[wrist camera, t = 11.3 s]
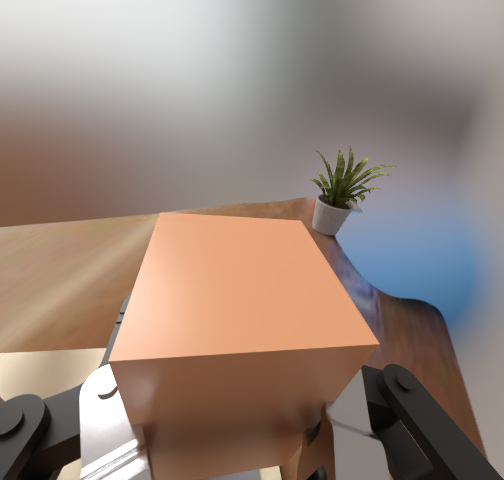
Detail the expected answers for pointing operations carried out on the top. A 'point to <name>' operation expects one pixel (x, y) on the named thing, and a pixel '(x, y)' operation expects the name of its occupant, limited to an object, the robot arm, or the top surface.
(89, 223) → the top surface
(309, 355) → the tall salmon pillar
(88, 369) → the post stand
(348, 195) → the house plant
